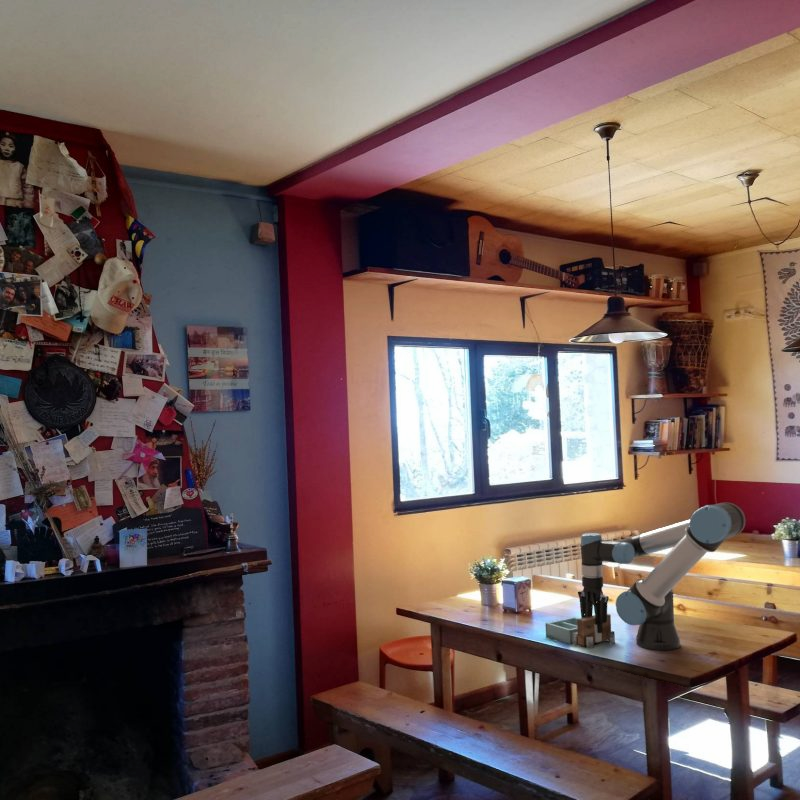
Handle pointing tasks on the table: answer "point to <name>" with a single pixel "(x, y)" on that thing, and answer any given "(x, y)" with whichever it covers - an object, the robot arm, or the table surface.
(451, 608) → the table surface
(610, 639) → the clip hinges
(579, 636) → the door
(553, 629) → the box
